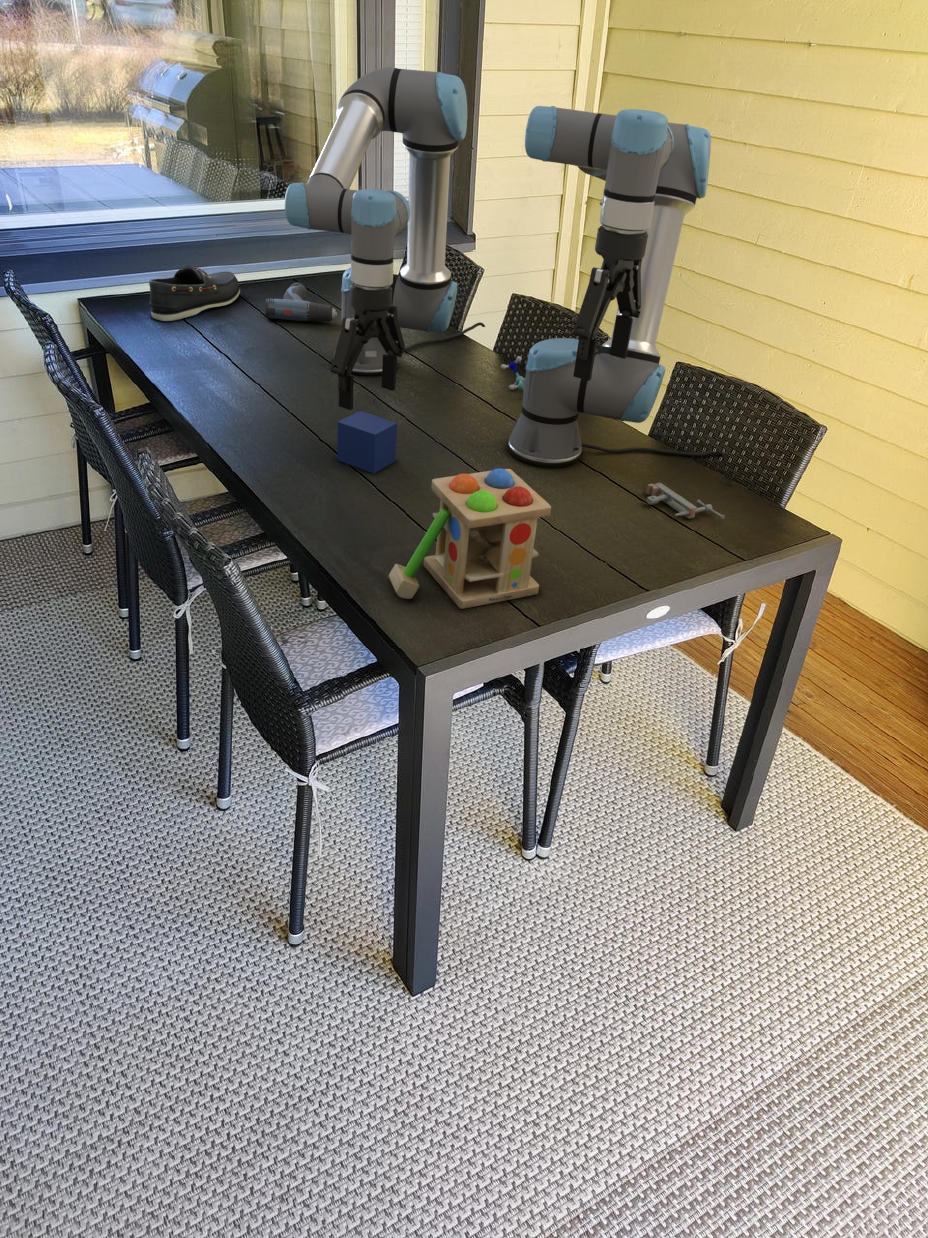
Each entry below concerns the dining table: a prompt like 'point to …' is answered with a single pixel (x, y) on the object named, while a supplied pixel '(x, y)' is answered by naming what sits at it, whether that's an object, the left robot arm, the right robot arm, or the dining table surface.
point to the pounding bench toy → (479, 539)
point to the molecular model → (519, 378)
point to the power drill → (298, 307)
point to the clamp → (657, 495)
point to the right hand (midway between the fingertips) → (600, 367)
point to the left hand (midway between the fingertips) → (367, 398)
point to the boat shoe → (191, 293)
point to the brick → (367, 441)
